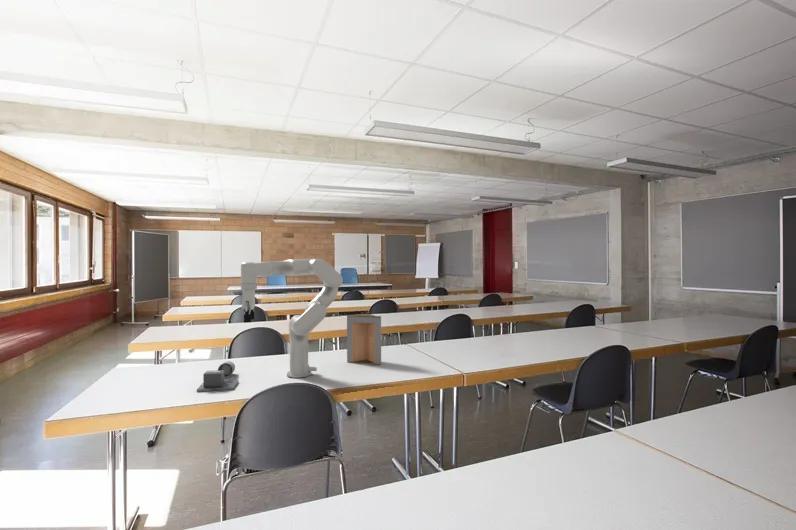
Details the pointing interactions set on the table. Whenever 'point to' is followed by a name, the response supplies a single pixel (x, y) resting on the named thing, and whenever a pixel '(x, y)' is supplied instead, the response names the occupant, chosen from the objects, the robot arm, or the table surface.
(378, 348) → the cabinet
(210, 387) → the plate
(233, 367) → the ceramic mug
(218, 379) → the dark grey block
